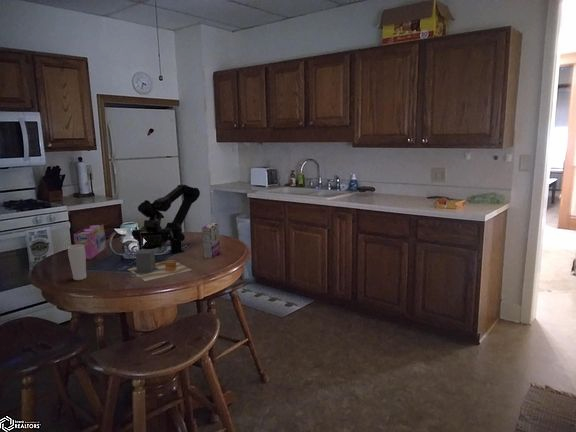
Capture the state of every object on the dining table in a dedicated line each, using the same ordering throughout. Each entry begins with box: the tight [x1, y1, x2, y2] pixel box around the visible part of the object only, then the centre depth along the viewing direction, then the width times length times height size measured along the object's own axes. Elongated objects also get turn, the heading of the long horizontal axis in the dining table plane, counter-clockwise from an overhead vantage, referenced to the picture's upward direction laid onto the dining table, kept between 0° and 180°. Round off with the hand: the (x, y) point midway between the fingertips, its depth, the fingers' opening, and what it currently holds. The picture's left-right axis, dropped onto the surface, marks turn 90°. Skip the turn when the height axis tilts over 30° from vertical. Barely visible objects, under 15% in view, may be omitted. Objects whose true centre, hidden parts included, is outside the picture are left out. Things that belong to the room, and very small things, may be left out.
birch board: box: [127, 260, 192, 282], centre depth 197 cm, size 22×22×1 cm
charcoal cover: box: [134, 248, 156, 273], centre depth 195 cm, size 7×7×9 cm
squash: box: [140, 225, 163, 248], centre depth 240 cm, size 14×15×15 cm
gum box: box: [73, 223, 108, 260], centre depth 228 cm, size 24×8×14 cm, turn 4°
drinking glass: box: [67, 244, 87, 281], centre depth 187 cm, size 7×7×15 cm
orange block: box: [165, 259, 177, 271], centre depth 196 cm, size 4×4×4 cm
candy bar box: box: [201, 222, 221, 259], centre depth 217 cm, size 11×5×16 cm, turn 168°
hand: (150, 249), depth 202 cm, fingers open, 9 cm apart
